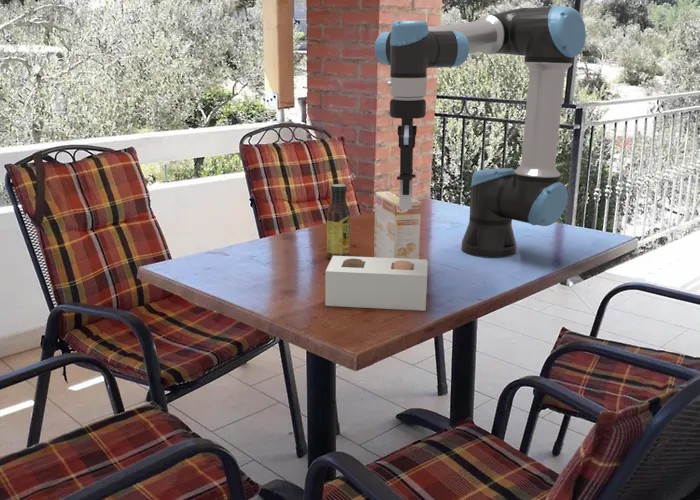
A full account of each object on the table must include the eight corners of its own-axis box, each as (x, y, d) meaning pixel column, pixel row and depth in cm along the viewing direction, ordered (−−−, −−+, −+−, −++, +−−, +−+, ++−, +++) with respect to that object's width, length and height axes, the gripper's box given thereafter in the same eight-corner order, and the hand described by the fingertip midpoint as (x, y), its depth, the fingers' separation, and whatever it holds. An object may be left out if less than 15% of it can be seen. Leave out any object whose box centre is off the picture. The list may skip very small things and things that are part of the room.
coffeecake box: (419, 279, 175) (422, 201, 169) (392, 281, 173) (394, 203, 167) (398, 262, 189) (400, 190, 183) (372, 264, 187) (374, 191, 181)
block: (426, 292, 165) (427, 259, 163) (425, 310, 154) (427, 275, 152) (332, 288, 168) (333, 255, 166) (325, 305, 156) (325, 271, 154)
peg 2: (410, 294, 162) (411, 261, 160) (410, 300, 158) (411, 266, 156) (393, 293, 162) (394, 260, 160) (392, 299, 158) (393, 265, 156)
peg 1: (362, 292, 163) (363, 258, 161) (361, 298, 159) (361, 264, 157) (345, 291, 163) (345, 258, 161) (343, 297, 160) (343, 263, 157)
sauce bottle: (347, 261, 188) (347, 188, 183) (324, 260, 189) (324, 187, 184) (352, 255, 194) (352, 183, 189) (329, 253, 196) (329, 182, 190)
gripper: (391, 95, 155) (390, 201, 161) (387, 100, 142) (386, 215, 149) (426, 95, 154) (423, 202, 160) (425, 101, 141) (422, 216, 148)
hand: (405, 208), depth 155 cm, fingers closed
